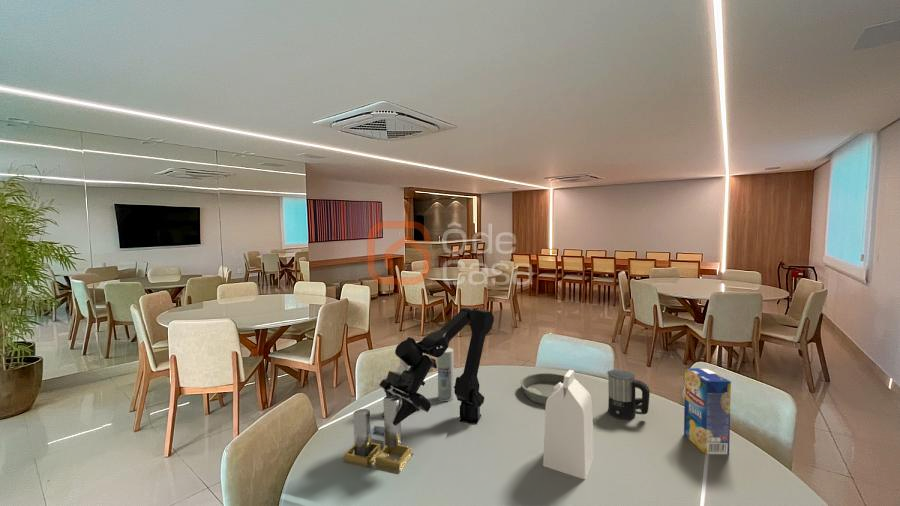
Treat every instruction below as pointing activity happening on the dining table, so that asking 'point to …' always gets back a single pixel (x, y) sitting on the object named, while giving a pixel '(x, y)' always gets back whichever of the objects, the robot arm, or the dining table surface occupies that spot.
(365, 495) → the dining table surface
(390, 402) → the billet
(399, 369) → the plastic bottle
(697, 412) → the blue cardboard box
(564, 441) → the milk
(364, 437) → the billet twin
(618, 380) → the milk frother
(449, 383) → the spray can
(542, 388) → the cake pan
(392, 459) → the gold holder tray
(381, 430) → the grey square dish
